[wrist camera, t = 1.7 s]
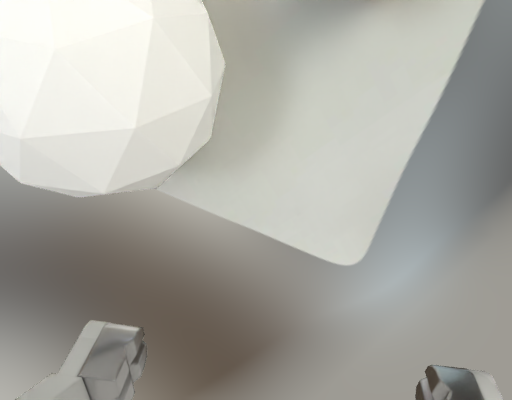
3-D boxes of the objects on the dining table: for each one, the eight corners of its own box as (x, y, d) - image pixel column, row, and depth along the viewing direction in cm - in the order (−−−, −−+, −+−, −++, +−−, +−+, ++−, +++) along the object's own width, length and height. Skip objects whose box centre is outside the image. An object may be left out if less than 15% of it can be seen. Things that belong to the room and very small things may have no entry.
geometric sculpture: (227, 10, 38) (277, -99, 19) (190, 193, 41) (202, 259, 22) (25, -53, 33) (-179, -283, 14) (3, 160, 37) (-185, 206, 18)
